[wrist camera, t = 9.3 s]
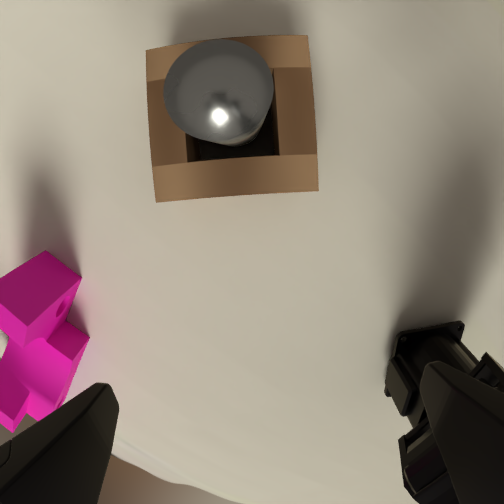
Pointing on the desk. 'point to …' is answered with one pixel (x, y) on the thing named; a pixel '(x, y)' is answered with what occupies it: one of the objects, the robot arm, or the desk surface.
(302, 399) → the desk surface
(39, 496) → the robot arm
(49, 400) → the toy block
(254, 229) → the desk surface
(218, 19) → the desk surface
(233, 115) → the metal canister
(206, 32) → the desk surface
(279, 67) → the brown square frame
